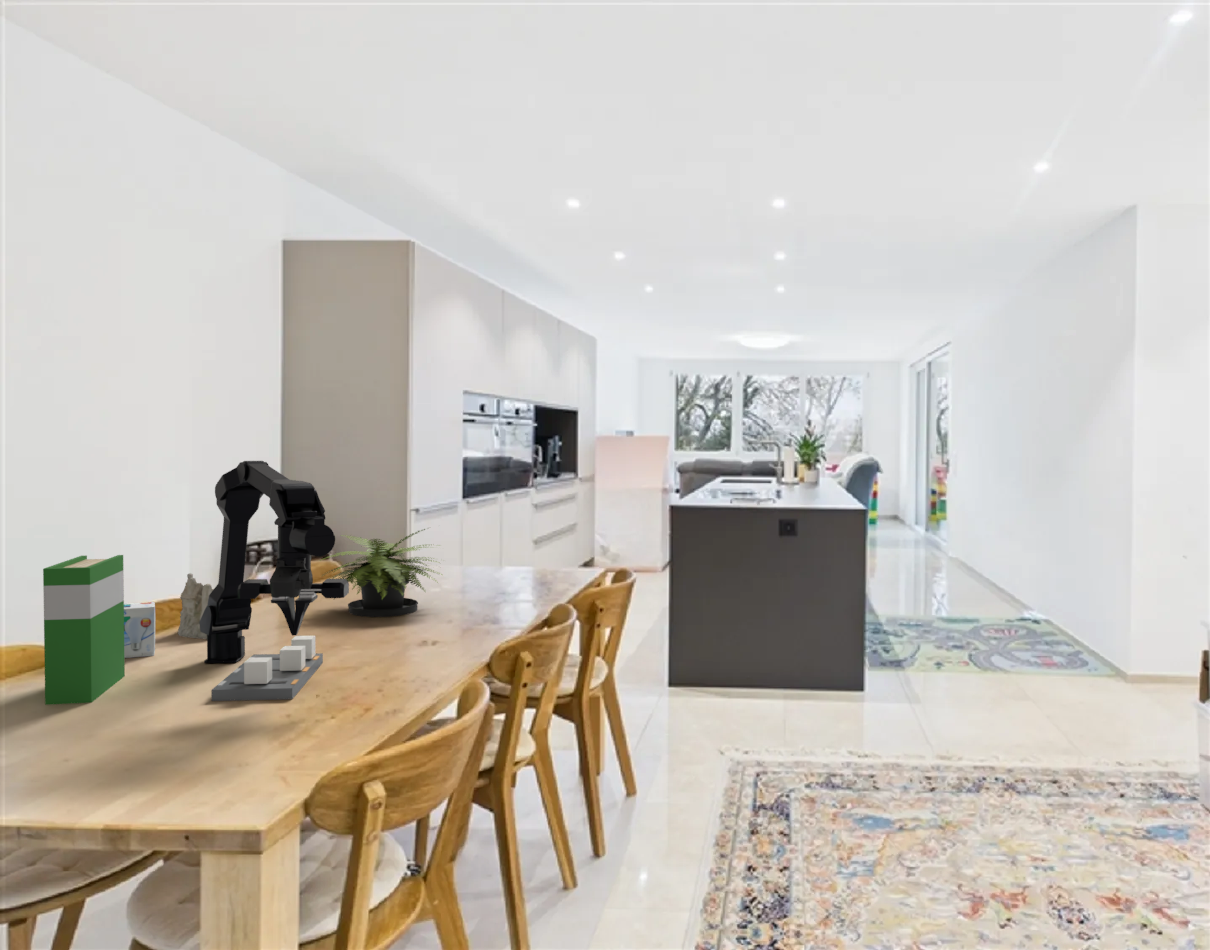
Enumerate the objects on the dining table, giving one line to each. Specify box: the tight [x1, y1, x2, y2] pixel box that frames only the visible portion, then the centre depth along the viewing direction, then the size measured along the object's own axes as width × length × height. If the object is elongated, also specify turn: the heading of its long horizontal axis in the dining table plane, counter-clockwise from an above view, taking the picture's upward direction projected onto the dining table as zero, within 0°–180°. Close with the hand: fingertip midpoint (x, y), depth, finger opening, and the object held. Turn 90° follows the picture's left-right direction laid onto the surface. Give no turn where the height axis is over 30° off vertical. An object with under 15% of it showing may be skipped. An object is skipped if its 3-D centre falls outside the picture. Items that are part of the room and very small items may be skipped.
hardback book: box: [42, 554, 126, 706], centre depth 162 cm, size 18×7×24 cm, turn 12°
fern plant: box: [318, 525, 445, 618], centre depth 240 cm, size 37×39×24 cm
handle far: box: [290, 635, 316, 659], centre depth 179 cm, size 4×4×4 cm
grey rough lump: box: [177, 572, 214, 640], centre depth 213 cm, size 16×16×15 cm
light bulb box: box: [124, 601, 156, 659], centre depth 189 cm, size 11×7×11 cm, turn 117°
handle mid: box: [279, 645, 305, 671], centre depth 170 cm, size 4×4×4 cm
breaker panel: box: [210, 652, 324, 702], centre depth 170 cm, size 14×26×2 cm, turn 6°
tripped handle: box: [243, 657, 272, 684], centre depth 161 cm, size 4×4×4 cm
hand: (294, 635), depth 161 cm, fingers closed
